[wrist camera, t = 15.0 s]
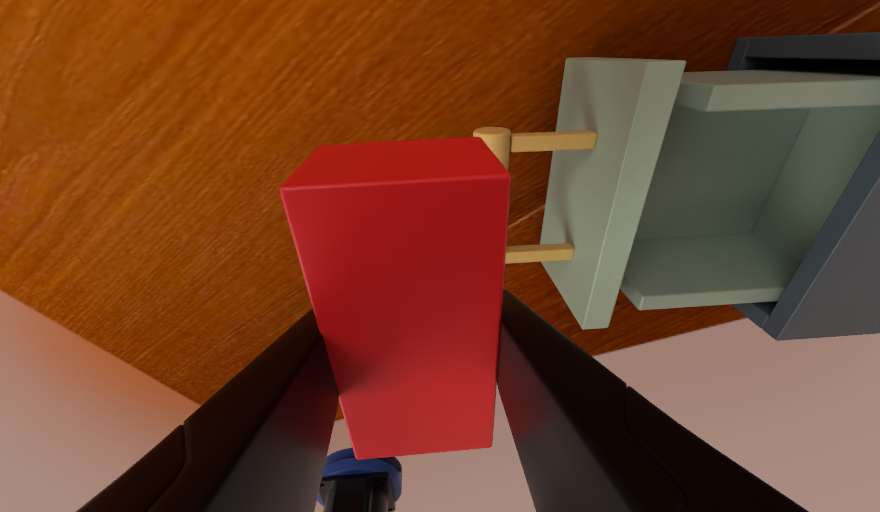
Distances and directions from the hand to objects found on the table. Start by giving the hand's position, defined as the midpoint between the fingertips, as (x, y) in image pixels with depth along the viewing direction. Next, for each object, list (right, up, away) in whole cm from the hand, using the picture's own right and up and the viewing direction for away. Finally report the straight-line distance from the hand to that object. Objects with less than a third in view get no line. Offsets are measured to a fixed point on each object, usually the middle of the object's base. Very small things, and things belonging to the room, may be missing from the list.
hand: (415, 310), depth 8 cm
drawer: (+10, +6, +10) cm, 16 cm away
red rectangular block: (0, +1, +1) cm, 1 cm away
